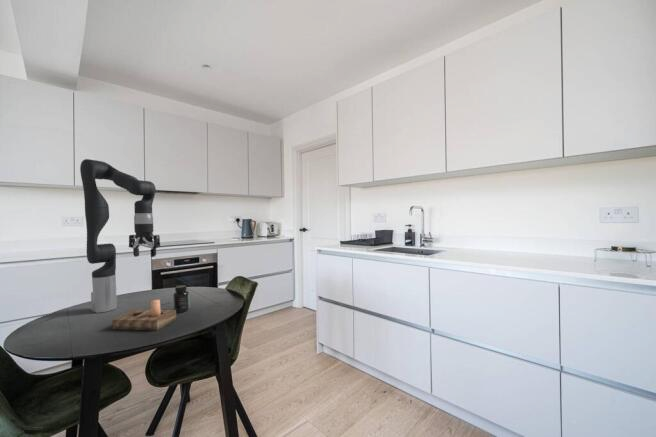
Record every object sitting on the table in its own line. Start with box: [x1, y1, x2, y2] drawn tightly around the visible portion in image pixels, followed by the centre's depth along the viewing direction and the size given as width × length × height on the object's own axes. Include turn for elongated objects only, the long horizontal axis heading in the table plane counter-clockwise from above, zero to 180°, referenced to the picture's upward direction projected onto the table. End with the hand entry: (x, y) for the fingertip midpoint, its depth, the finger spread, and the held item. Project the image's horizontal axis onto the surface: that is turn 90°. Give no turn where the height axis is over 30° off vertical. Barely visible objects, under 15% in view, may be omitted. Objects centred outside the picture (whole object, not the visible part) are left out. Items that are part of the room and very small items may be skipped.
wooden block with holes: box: [112, 308, 177, 331], centre depth 121 cm, size 20×12×4 cm, turn 84°
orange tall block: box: [149, 299, 161, 317], centre depth 120 cm, size 4×4×9 cm
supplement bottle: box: [172, 284, 190, 314], centre depth 136 cm, size 7×7×12 cm
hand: (144, 256), depth 133 cm, fingers open, 8 cm apart
